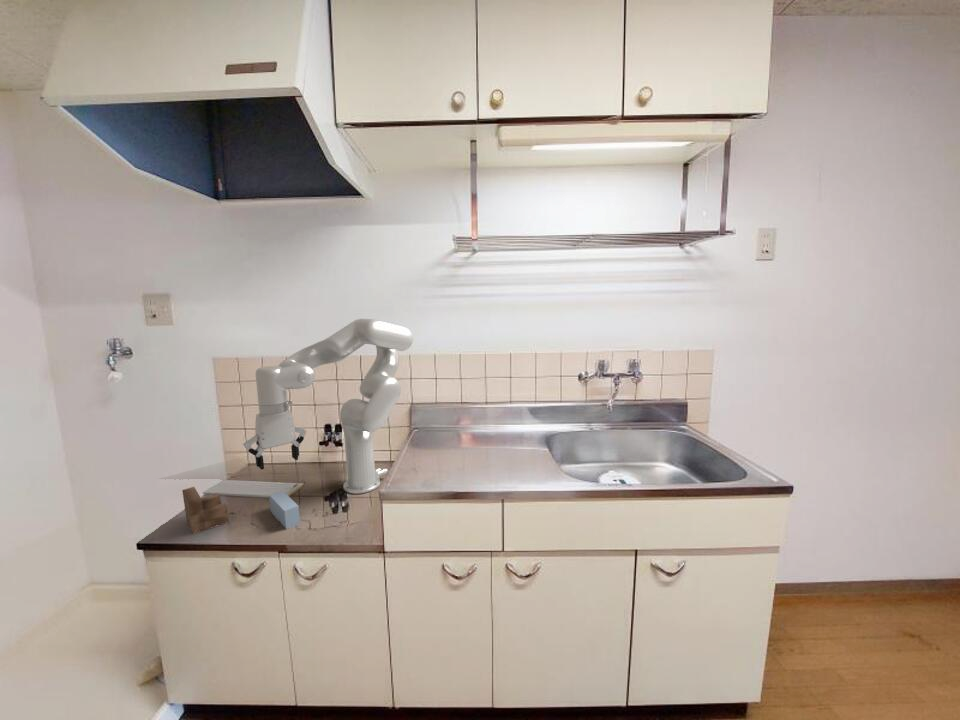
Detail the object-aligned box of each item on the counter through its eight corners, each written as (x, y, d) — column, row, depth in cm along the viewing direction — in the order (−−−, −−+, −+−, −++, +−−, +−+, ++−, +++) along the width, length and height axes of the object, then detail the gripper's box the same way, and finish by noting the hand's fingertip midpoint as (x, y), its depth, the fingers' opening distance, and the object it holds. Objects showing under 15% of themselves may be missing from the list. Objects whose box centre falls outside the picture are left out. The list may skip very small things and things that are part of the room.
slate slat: (283, 507, 131) (282, 490, 130) (300, 524, 121) (298, 505, 120) (270, 512, 129) (268, 494, 128) (286, 529, 119) (284, 511, 118)
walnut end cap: (220, 509, 130) (216, 480, 129) (228, 521, 123) (224, 491, 121) (186, 520, 124) (182, 490, 123) (193, 534, 117) (188, 502, 115)
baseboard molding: (229, 480, 152) (203, 496, 140) (228, 473, 152) (202, 488, 140) (306, 484, 148) (286, 500, 136) (305, 476, 148) (285, 492, 136)
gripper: (298, 400, 128) (303, 452, 130) (236, 411, 116) (243, 468, 119) (308, 404, 122) (312, 458, 125) (244, 417, 111) (250, 476, 113)
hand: (278, 463), depth 122 cm, fingers open, 9 cm apart
